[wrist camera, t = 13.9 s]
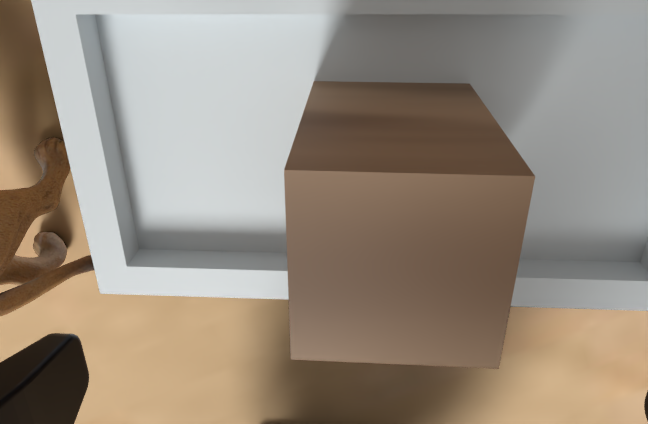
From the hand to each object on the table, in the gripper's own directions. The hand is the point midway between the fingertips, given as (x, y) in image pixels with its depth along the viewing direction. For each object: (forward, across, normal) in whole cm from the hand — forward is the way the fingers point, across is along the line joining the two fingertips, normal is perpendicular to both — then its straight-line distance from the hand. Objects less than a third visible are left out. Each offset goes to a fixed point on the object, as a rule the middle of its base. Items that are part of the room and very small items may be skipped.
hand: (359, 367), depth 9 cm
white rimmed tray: (+11, -1, -1) cm, 11 cm away
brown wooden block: (+8, -1, -1) cm, 8 cm away
